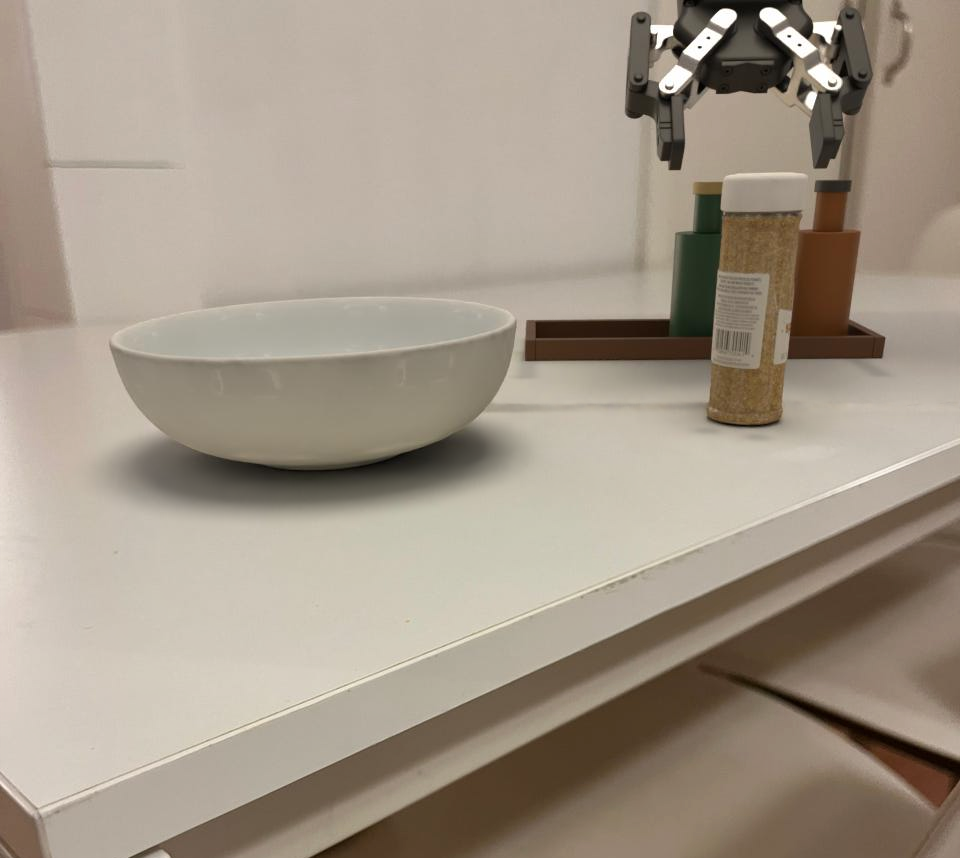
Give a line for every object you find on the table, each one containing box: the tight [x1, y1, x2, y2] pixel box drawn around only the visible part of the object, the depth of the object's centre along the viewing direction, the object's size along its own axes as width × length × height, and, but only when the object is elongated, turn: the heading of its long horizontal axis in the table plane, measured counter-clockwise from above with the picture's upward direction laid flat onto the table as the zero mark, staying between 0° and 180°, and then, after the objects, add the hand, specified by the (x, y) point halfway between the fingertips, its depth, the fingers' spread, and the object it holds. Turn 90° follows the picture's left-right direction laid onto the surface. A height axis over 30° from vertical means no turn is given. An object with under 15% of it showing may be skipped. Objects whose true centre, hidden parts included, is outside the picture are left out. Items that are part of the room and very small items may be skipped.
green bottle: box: [669, 181, 725, 337], centre depth 78 cm, size 5×5×12 cm
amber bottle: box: [790, 179, 862, 336], centre depth 77 cm, size 5×5×12 cm
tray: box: [524, 318, 886, 362], centre depth 80 cm, size 27×11×2 cm, turn 87°
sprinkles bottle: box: [706, 171, 809, 426], centre depth 58 cm, size 5×5×13 cm
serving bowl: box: [108, 296, 518, 471], centre depth 54 cm, size 21×21×7 cm
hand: (750, 158), depth 59 cm, fingers open, 8 cm apart
